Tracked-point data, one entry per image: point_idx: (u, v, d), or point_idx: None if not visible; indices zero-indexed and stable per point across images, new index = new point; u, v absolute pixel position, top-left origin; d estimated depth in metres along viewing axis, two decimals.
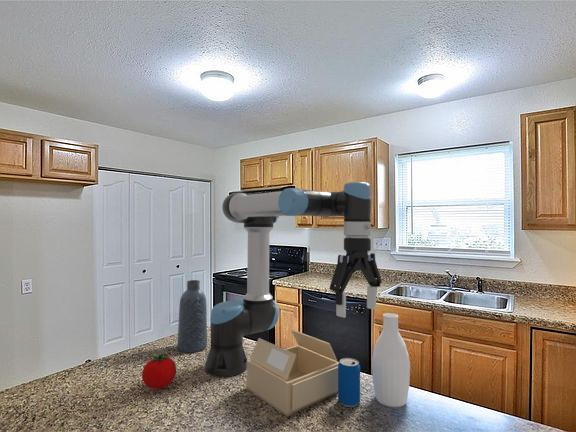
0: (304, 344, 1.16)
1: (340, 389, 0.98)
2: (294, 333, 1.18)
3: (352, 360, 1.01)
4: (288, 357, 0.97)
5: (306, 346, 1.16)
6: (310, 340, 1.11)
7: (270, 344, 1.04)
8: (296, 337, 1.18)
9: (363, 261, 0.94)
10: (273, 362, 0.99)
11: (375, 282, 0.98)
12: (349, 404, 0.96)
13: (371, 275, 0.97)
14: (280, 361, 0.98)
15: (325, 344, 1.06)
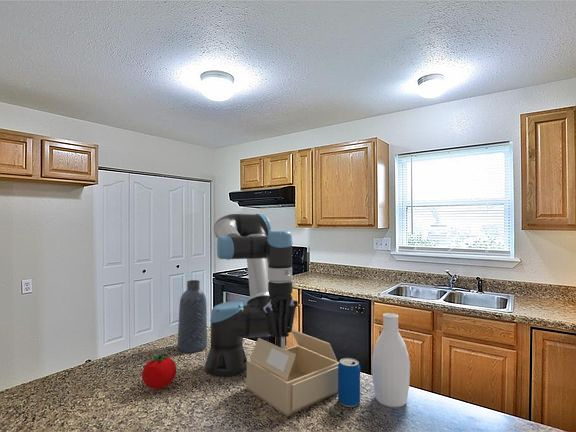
0: (304, 344, 1.16)
1: (340, 389, 0.98)
2: (294, 333, 1.18)
3: (352, 360, 1.01)
4: (287, 357, 0.96)
5: (306, 346, 1.16)
6: (310, 340, 1.11)
7: (270, 344, 1.04)
8: (296, 337, 1.18)
9: (285, 302, 1.03)
10: (273, 362, 0.99)
11: (285, 331, 1.04)
12: (349, 404, 0.96)
13: (285, 321, 1.04)
14: (279, 361, 0.98)
15: (325, 344, 1.06)
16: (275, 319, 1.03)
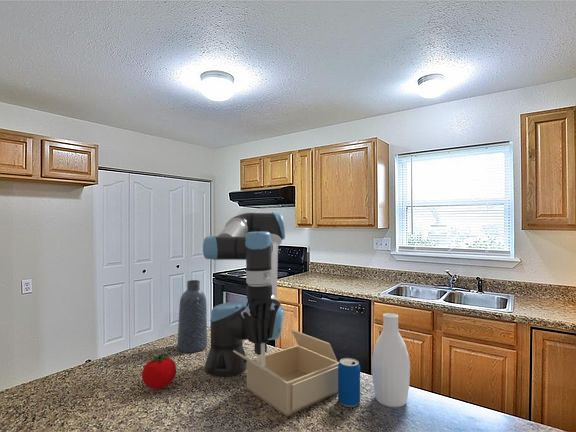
0: (304, 344, 1.16)
1: (340, 389, 0.98)
2: (294, 333, 1.18)
3: (352, 360, 1.01)
4: (266, 371, 0.92)
5: (306, 346, 1.16)
6: (310, 340, 1.11)
7: (245, 358, 0.98)
8: (296, 337, 1.18)
9: (264, 306, 0.98)
10: (263, 369, 0.97)
11: (265, 336, 0.98)
12: (349, 404, 0.96)
13: (265, 326, 0.98)
14: None
15: (325, 344, 1.06)
16: (254, 324, 0.98)
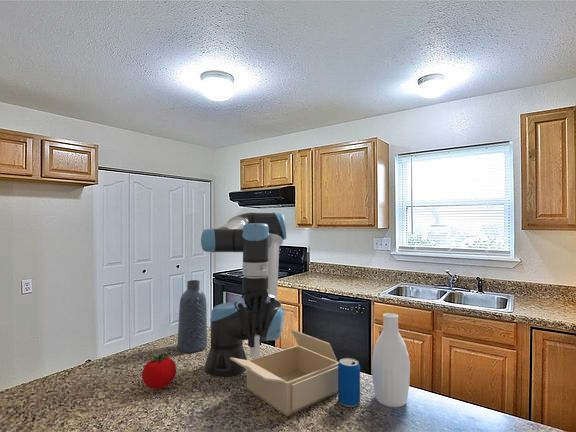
0: (304, 344, 1.16)
1: (340, 389, 0.98)
2: (294, 333, 1.18)
3: (351, 360, 1.01)
4: None
5: (306, 346, 1.16)
6: (310, 340, 1.11)
7: (242, 366, 0.98)
8: (296, 337, 1.18)
9: (260, 298, 0.97)
10: (262, 372, 0.97)
11: (260, 329, 0.98)
12: (349, 404, 0.96)
13: (260, 319, 0.98)
14: (264, 375, 0.94)
15: (325, 344, 1.06)
16: (249, 316, 0.97)
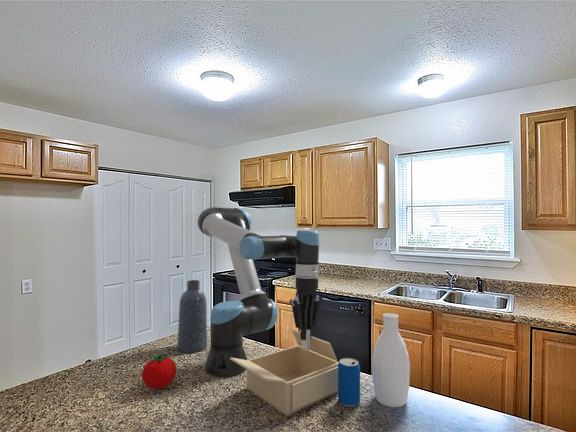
0: None
1: (340, 389, 0.98)
2: (294, 333, 1.18)
3: (351, 360, 1.01)
4: None
5: None
6: (311, 339, 1.11)
7: (242, 366, 0.97)
8: (296, 337, 1.18)
9: (311, 297, 1.10)
10: (262, 372, 0.97)
11: (310, 324, 1.10)
12: (349, 404, 0.96)
13: (311, 315, 1.10)
14: None
15: (325, 344, 1.06)
16: (301, 313, 1.10)
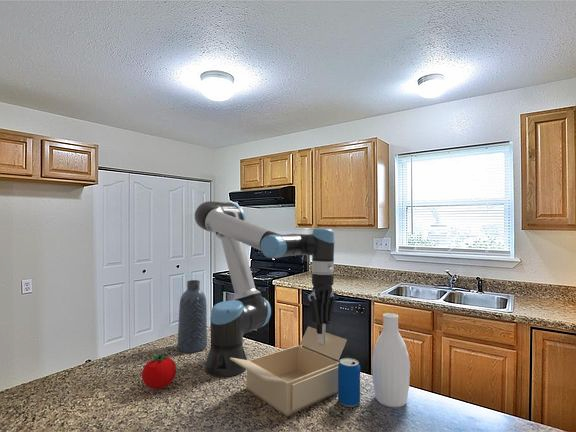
0: (311, 341, 1.18)
1: (340, 389, 0.98)
2: (309, 329, 1.22)
3: (352, 360, 1.01)
4: None
5: (310, 344, 1.17)
6: (325, 335, 1.16)
7: (242, 366, 0.97)
8: (307, 334, 1.21)
9: (327, 292, 1.15)
10: (262, 372, 0.97)
11: (326, 319, 1.15)
12: (349, 404, 0.96)
13: (326, 310, 1.15)
14: None
15: (341, 339, 1.11)
16: (317, 307, 1.15)
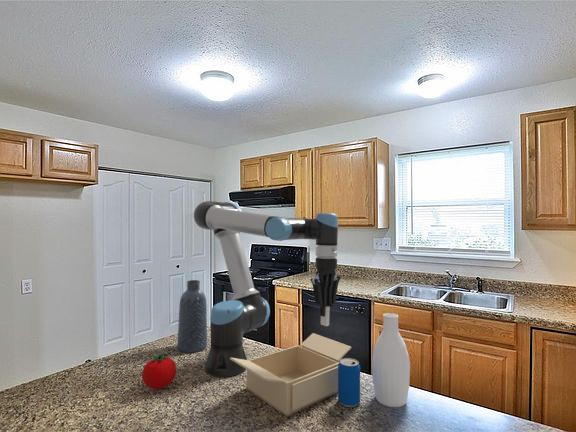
0: (313, 344, 1.19)
1: (340, 389, 0.98)
2: (313, 335, 1.23)
3: (352, 360, 1.01)
4: None
5: (312, 346, 1.18)
6: (329, 341, 1.17)
7: (242, 366, 0.97)
8: (310, 338, 1.22)
9: (330, 276, 1.17)
10: (262, 372, 0.97)
11: (330, 301, 1.17)
12: (349, 404, 0.96)
13: (330, 293, 1.17)
14: None
15: (345, 346, 1.12)
16: (321, 291, 1.16)
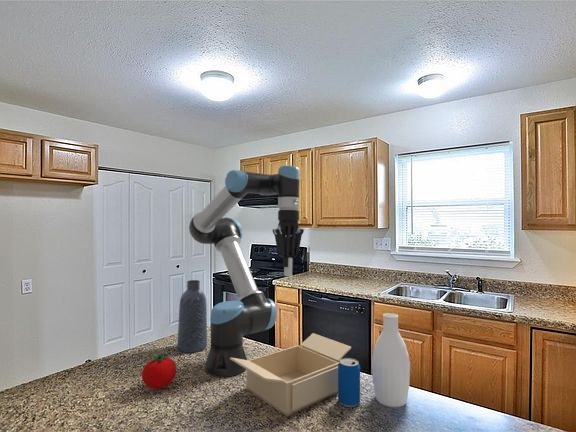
0: (313, 344, 1.19)
1: (340, 389, 0.98)
2: (313, 335, 1.23)
3: (351, 360, 1.01)
4: None
5: (312, 346, 1.18)
6: (329, 341, 1.17)
7: (242, 366, 0.97)
8: (310, 338, 1.22)
9: (292, 227, 1.19)
10: (262, 372, 0.97)
11: (293, 253, 1.19)
12: (349, 404, 0.96)
13: (293, 244, 1.19)
14: None
15: (345, 346, 1.12)
16: (283, 242, 1.18)
